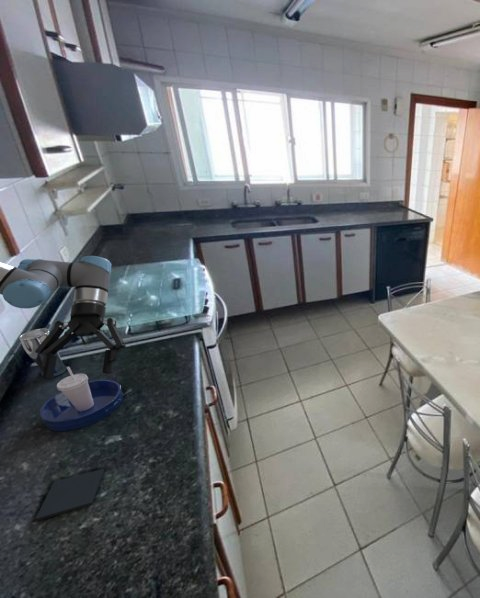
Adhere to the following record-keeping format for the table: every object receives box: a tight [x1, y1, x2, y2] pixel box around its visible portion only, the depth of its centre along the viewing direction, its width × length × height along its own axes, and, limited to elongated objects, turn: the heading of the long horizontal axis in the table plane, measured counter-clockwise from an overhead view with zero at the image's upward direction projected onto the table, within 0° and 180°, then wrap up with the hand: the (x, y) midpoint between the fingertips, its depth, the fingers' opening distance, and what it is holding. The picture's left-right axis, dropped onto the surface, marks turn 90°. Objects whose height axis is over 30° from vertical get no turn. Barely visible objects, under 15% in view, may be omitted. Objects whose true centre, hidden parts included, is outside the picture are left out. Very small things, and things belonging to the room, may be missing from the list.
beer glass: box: [18, 327, 68, 378], centre depth 105 cm, size 7×7×15 cm
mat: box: [35, 468, 105, 522], centre depth 73 cm, size 9×9×1 cm
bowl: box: [39, 379, 124, 432], centre depth 95 cm, size 17×17×4 cm
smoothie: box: [56, 366, 94, 411], centre depth 93 cm, size 6×6×14 cm
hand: (77, 375), depth 93 cm, fingers open, 13 cm apart
